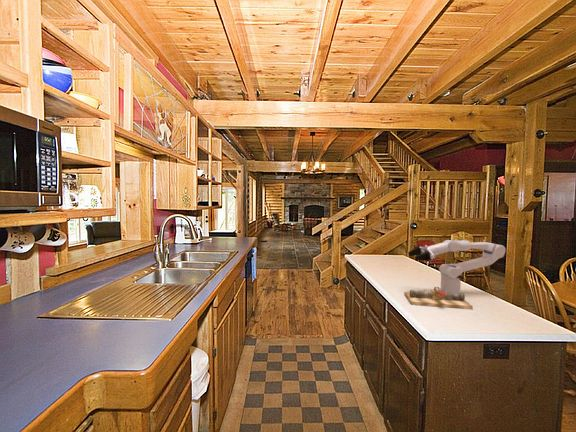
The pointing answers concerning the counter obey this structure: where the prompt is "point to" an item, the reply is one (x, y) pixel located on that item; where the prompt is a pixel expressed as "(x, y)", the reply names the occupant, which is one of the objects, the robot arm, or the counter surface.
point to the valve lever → (439, 291)
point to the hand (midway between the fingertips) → (411, 256)
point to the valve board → (437, 299)
